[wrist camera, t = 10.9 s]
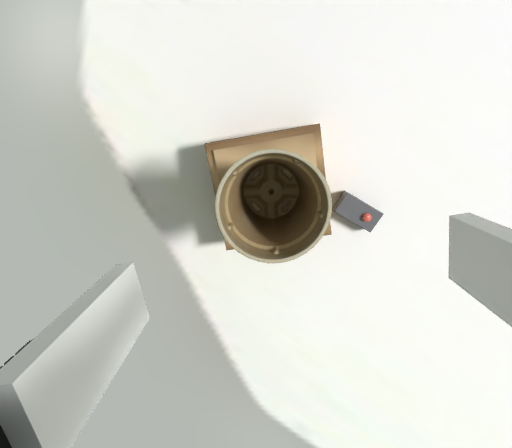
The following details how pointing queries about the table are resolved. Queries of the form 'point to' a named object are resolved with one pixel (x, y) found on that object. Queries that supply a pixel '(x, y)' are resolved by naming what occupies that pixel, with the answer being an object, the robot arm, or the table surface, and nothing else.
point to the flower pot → (273, 206)
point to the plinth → (293, 139)
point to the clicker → (357, 211)
